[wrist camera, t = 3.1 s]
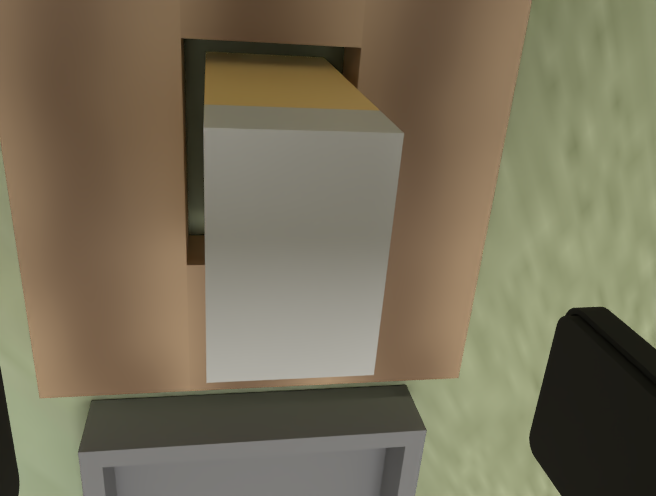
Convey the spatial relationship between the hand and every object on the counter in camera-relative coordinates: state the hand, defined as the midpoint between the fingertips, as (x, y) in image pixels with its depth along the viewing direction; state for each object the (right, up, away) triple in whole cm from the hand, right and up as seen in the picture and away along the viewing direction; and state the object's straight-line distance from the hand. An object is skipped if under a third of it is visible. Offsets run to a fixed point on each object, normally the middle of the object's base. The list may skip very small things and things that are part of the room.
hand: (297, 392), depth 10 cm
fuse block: (-2, +6, +12) cm, 14 cm away
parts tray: (-3, -11, +20) cm, 23 cm away
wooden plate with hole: (-2, +6, +12) cm, 14 cm away
